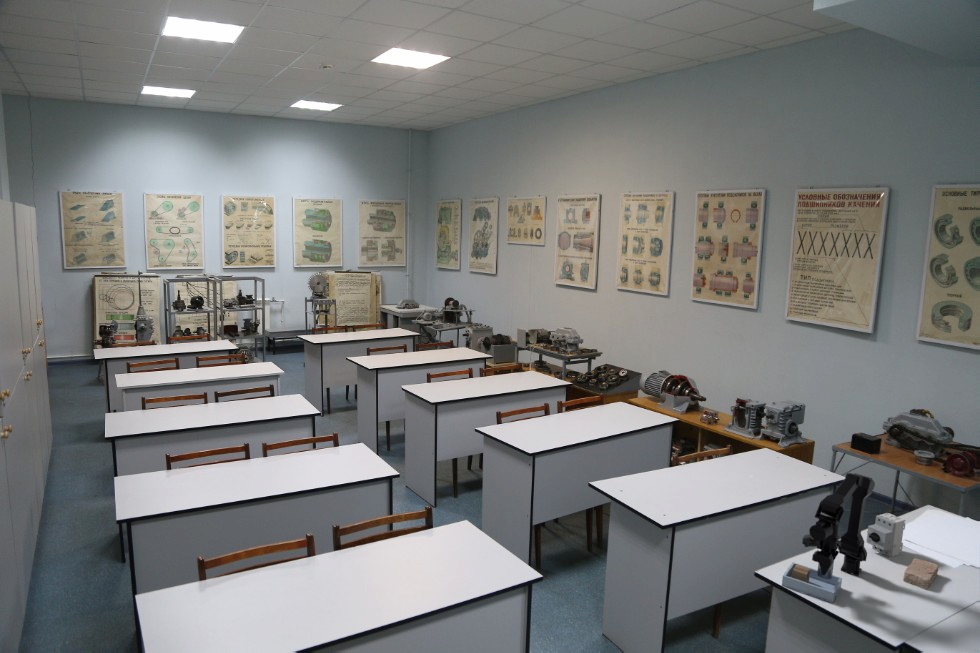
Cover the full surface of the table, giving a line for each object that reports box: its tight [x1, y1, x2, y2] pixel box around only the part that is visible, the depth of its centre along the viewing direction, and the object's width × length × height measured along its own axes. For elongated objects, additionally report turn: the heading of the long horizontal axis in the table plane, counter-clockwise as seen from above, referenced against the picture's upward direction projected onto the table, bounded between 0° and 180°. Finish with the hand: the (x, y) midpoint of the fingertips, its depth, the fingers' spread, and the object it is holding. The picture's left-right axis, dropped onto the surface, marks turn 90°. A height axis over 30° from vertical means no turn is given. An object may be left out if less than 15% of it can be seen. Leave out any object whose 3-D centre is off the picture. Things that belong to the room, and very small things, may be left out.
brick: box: [902, 557, 940, 590], centre depth 251 cm, size 17×8×5 cm, turn 133°
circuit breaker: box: [866, 512, 906, 558], centre depth 270 cm, size 8×14×15 cm, turn 115°
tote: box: [781, 562, 843, 604], centre depth 243 cm, size 14×18×4 cm
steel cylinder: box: [817, 559, 835, 579], centre depth 239 cm, size 5×5×7 cm
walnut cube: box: [792, 565, 810, 583], centre depth 245 cm, size 5×5×5 cm
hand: (825, 571), depth 239 cm, fingers closed on steel cylinder, 5 cm apart
